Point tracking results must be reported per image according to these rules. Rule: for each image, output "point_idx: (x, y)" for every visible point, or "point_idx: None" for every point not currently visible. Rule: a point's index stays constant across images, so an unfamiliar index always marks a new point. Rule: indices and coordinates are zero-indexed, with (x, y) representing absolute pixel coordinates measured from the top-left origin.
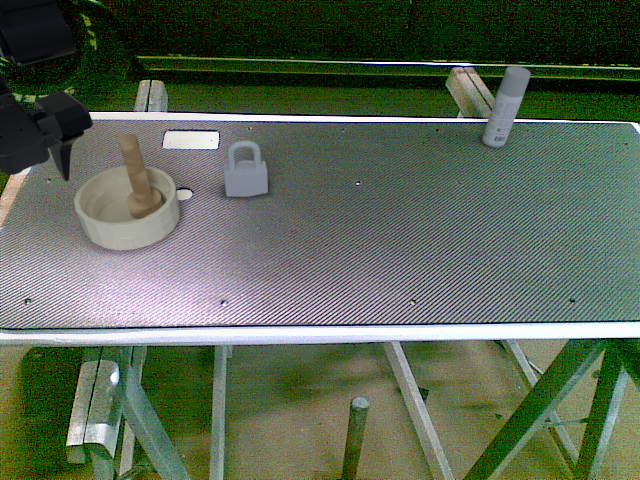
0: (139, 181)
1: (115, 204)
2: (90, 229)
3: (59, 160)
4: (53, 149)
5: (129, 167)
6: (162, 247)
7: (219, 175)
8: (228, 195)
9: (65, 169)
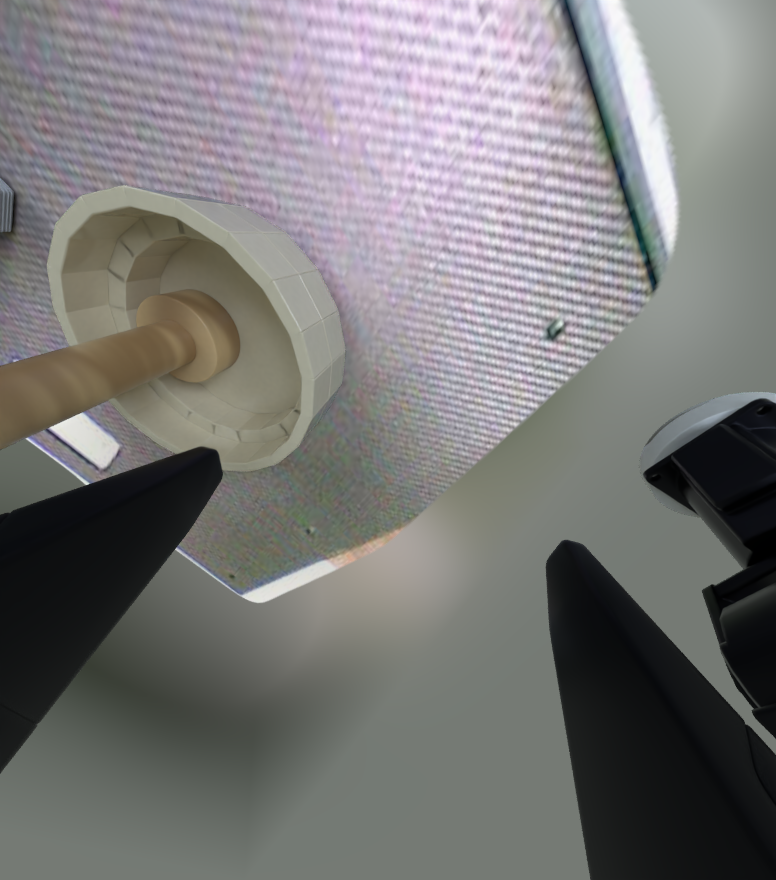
0: (109, 344)
1: (251, 401)
2: (325, 354)
3: (80, 551)
4: (41, 639)
5: (68, 380)
6: (232, 180)
7: (24, 284)
8: (3, 185)
9: (130, 484)
